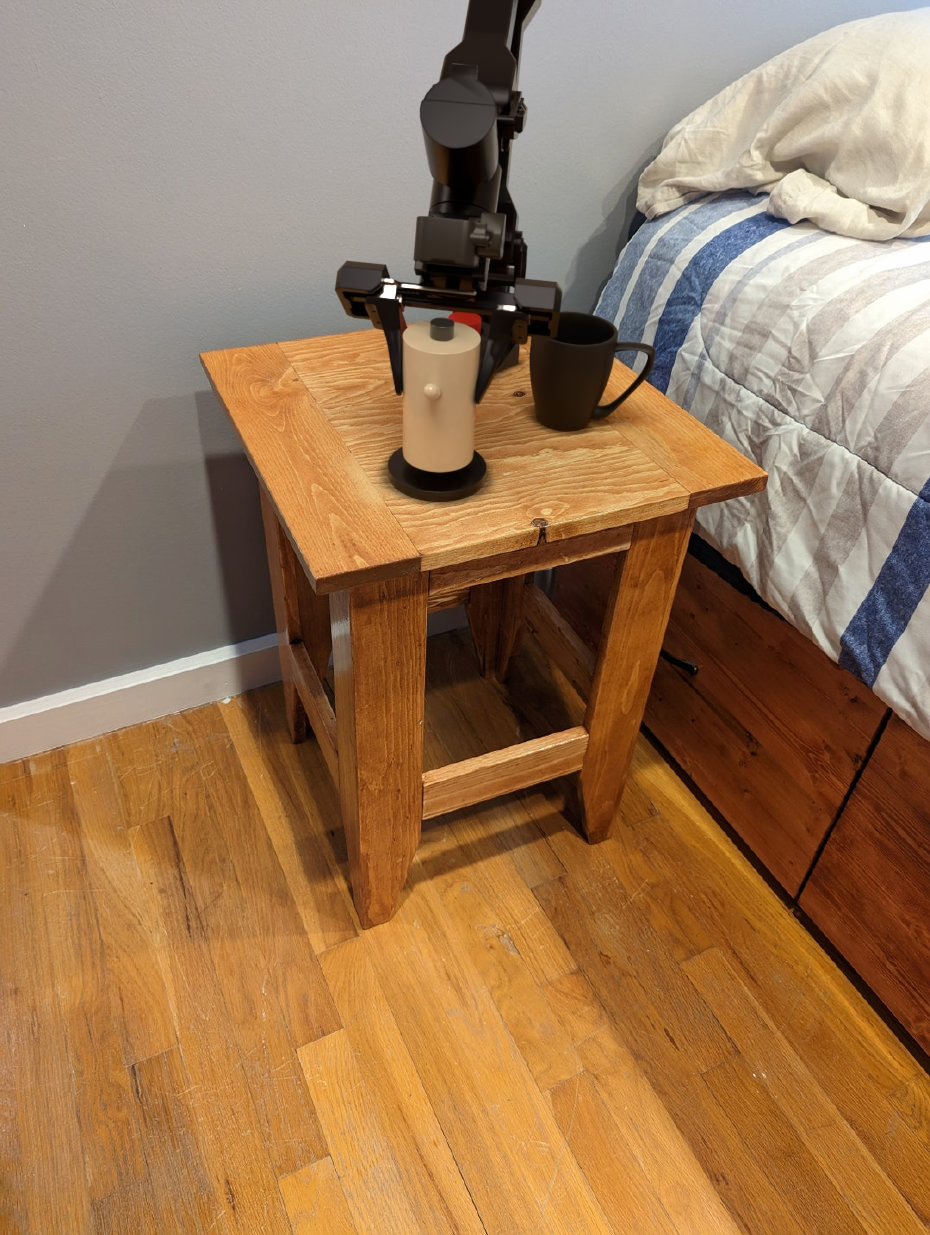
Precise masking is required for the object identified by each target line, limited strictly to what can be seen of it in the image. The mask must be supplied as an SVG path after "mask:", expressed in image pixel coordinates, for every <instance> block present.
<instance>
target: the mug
mask: <svg viewBox="0 0 930 1235" xmlns="http://www.w3.org/2000/svg"><path fill="white" fill-rule="evenodd" d="M618 338H619V330H618V328H617V327H616V326H615V325H614V323H612V322H611V321H609V320H608V319H605V318H603V317H602V316H601V317H600V316H599V315H594V314H591V313H586V312H580V311H567V310H566V311H560V318H559V326H558V333H557V337H556V338H552V339H547V338H537V337H530V344H529V346H530V347H529V356H528V358H529V359H528V360H529V361H528V362H529V377H530V379H529V380H530V388H531V392H532V399H533V404H534V409H535V417H536V420H537V421H538V422H539V423H540V424H541V425H543V426H544V427H546V428H549V429H551V430H556V431H560V432H561V431H562V432H574V431H580V430H582V429H585V428H586V427H587V426H589V424H590V422H591V421H595V422H596V421H602V420H604V419H606V418H608V417H609V416H610V415H612V414H613V413H614V412H615V411H616V410H617V409H618V408H619V407H620V406H621V405H622V404H623V403H624V402H625V401H626V400H628V398H629V397H630V396H631V395H632V394H633V393H634V392H635V391H636V390H637V389H638V388H639V387H640V386H641V385H642V383H643V382H645V380H646V379H647V378H648V377H649V375H650V374H651V372H652V370H653V368H654V364H655V361H656V357H657V350H656V348H655V347H654V346H653V345H651V344H647V343H645V342H635V341H618ZM625 351H636V352H641V353H644V354H646V356H647V359H646V362H645V365H644V366H643V368H642V370H641V372H640V373H639V374H638V376H637V377H636V378H635V379H634V380H633V382H631V384H630V385H629V386H628V387H627V388H626V390H625V391H624V392H622V393H621V394H620V395H619V396H618V397H617V398H615V399H614V400H613V401H611V402H609V403H607V404H604V405H600V402H601V400H602V397H603V395H604V393H605V390H606V389H607V386H608V382H609V380H610V377H611V373H612V370H613V366H614V361H615V356H616V353H619V352H625Z"/></svg>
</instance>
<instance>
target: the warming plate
mask: <svg viewBox="0 0 930 1235" xmlns="http://www.w3.org/2000/svg"><path fill="white" fill-rule="evenodd" d="M487 466H488V465H487V463H486V460H485V459H484V457H483V455H481V454H480V453H479V452H478V451H477V450H475V449H474V454H473V459H472V460H471V462H470V463H469V464H468V465H466V466H465V467H463V468H461V469H458V470H455V471H450V472H430V471H425V470H421V469H418V468H416V467H414V466H412V465H411V464H409V463H408V462H407V461H406V460H405V458H404V456H403V445H402V446H400V447H399V448H397V449H396V450H395V451H393V452H392V454H391V455H390V456H389V458H388V460H387V477H388V480H389V483H390V484H391V485H392V486H393V487H394V488H395V489H396V490H397V491H399V492H400V493H402V494H403V495H405V496H408V497H410V498H414V499H417V500H422V501H427V502H441V503H442V502H452V501H458V500H462V499H464V498H468V497H470V496H472V495H474V494H475V493H477V492H478V491H480V490H481V489H482V487H483V486H484V485H485V482H486V479H487V470H488V469H487Z"/></svg>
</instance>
